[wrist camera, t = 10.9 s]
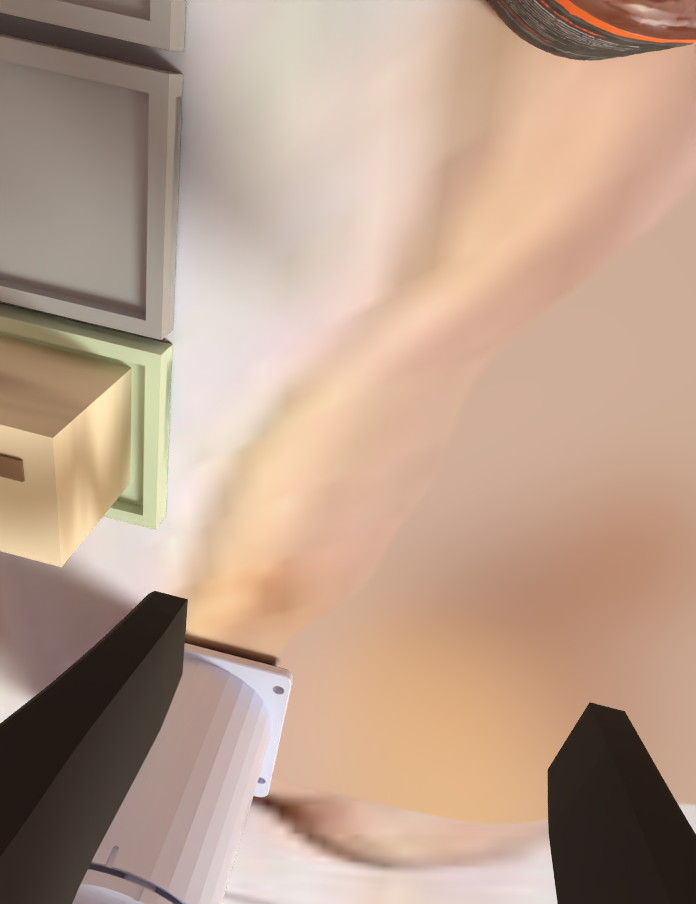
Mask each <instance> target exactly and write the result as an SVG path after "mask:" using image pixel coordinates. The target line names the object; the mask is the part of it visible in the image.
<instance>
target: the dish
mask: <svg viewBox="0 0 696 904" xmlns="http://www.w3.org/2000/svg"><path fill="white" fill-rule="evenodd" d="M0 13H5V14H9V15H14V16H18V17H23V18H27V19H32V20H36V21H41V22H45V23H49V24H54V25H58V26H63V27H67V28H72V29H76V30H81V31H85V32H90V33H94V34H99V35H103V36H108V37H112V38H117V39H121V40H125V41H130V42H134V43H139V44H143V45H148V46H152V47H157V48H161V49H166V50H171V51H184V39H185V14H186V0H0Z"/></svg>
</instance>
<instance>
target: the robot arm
mask: <svg viewBox="0 0 696 904" xmlns="http://www.w3.org/2000/svg"><path fill="white" fill-rule="evenodd" d="M187 602H188V599H184V598H180V597H176V596H172V595H169V594H165V593H161V592H157V591H154V592H152V593H150V594H148V595H147V596H146V597H145V598H144V599H143V600H142V601H141V602H140V603H139V604H138V605H137V606H136V607H135V608H134V609H133V610H132V611H131V612H130V613H129V614H128V615H127V616H126V617H125V618H124V619H123V620H122V621H121V622H120V623H119V624H117V625H116V626H115V627H114V628H113V629H112V630H111V631H110V632H109V633H108V634H107V635H106V636H105V637H103V638H102V639H101V640H100V641H99V642H98V643H97V644H96V645H95V646H94V647H93V648H91V649H90V650H89V651H88V652H87V653H86V654H85V655H83V656H82V657H81V658H80V659H79V660H78V661H76V662H75V663H74V664H73V665H72V666H71V667H70V668H68V669H67V670H66V671H65V672H64V673H63V674H61V675H60V676H59V677H58V678H57V679H56V680H54V681H53V682H52V683H51V684H50V685H48V686H47V687H46V688H45V689H44V690H42V691H41V692H40V693H38V694H37V695H36V696H35V697H33V698H32V699H31V700H30V701H28V702H27V703H26V704H25V705H23V706H22V707H21V708H19V709H18V710H17V711H16V712H14V713H13V714H12V715H11V716H9V717H8V718H7V719H5V720H4V721H3V722H2V723H0V904H222V902H223V898H224V895H225V892H226V888H227V885H228V881H229V878H230V875H231V871H232V868H233V864H234V861H235V857H236V854H237V851H238V847H239V844H240V840H241V837H242V833H243V830H244V827H245V823H246V820H247V816H248V813H249V809H250V806H251V803H252V799H253V796H257V797H264V796H266V795H267V794H268V792H269V788H270V784H271V779H272V774H273V770H274V765H275V761H276V756H277V751H278V747H279V742H280V737H281V732H282V728H283V723H284V719H285V714H286V709H287V705H288V700H289V695H290V691H291V686H292V681H293V676H292V674H291V673H290V672H289V671H288V670H286V669H283V668H280V667H276V666H272V665H268V664H264V663H261V662H257V661H253V660H249V659H245V658H241V657H237V656H233V655H230V654H226V653H222V652H218V651H214V650H210V649H206V648H203V647H199V646H195V645H191V644H187V643H185V631H186V617H187ZM548 824H549V839H550V847H551V855H552V863H553V871H554V879H555V887H556V894H557V901H558V904H696V834H695V832H694V831H693V829H692V827H691V826H690V824H689V822H688V821H687V819H686V817H685V816H684V814H683V812H682V811H681V809H680V807H679V805H678V804H677V802H676V800H675V799H674V797H673V795H672V793H671V792H670V790H669V788H668V787H667V785H666V783H665V781H664V779H663V778H662V776H661V774H660V772H659V771H658V769H657V767H656V766H655V764H654V762H653V760H652V758H651V757H650V755H649V753H648V751H647V750H646V748H645V746H644V744H643V742H642V741H641V739H640V737H639V735H638V734H637V732H636V730H635V729H634V727H633V725H632V723H631V722H630V720H629V718H628V716H627V715H626V713H625V711H621V710H617V709H613V708H609V707H605V706H601V705H597V704H594V703H589V705H588V706H587V708H586V709H585V711H584V712H583V714H582V716H581V717H580V719H579V720H578V722H577V724H576V725H575V727H574V728H573V730H572V732H571V733H570V735H569V736H568V738H567V740H566V741H565V743H564V744H563V746H562V748H561V749H560V751H559V752H558V754H557V756H556V757H555V759H554V761H553V762H552V764H551V765H550V767H549V769H548Z"/></svg>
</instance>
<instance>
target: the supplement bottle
mask: <svg viewBox="0 0 696 904" xmlns="http://www.w3.org/2000/svg"><path fill="white" fill-rule="evenodd" d="M488 1H489V3H490V4H491V6H492V7H493V9H494V10H495V11H496V13H497V14H498V16H499V17H500V18H501V19H502V20H503V21H504V23H505V24H506V25H507V26H508V27H509V28H510V29H511V30H512V31H513V32H514V33H515V34H517V35H518V36H519V37H520V38H521V39H523V40H525V41H526V42H528V43H530V44H531V45H533V46H535V47H537V48H539V49H541V50H543V51H546V52H548V53H551V54H553V55H556V56H561V57H566V58H569V59H575V60H603V59H610V58H617V57H624V56H629V55H633V54H641V53H645V52H651V51H660V50H664V49H670V48H674V47H681V46H686V45H690V44H695V43H696V0H488Z"/></svg>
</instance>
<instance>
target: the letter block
mask: <svg viewBox="0 0 696 904" xmlns="http://www.w3.org/2000/svg"><path fill="white" fill-rule="evenodd" d="M131 393H132V368H130V367H126V366H122V365H118V364H114V363H110V362H106V361H102V360H98V359H94V358H90V357H86V356H82V355H78V354H74V353H70V352H66V351H62V350H58V349H54V348H50V347H46V346H42V345H38V344H34V343H30V342H27V341H23V340H19V339H15V338H11V337H7V336H3V335H0V551H1V552H5V553H9V554H13V555H17V556H20V557H24V558H28V559H32V560H36V561H39V562H43V563H47V564H51V565H55V566H59V567H62V566H63V565H64V563H65V562H66V561H67V560H68V559H69V557H70V556H71V555H72V554H73V552H74V551H75V550H76V549H77V548H78V546H79V545H80V544H81V543H82V541H83V540H84V539H85V538H86V536H87V535H88V534H89V533H90V532H91V530H92V529H93V528H94V527H95V525H96V524H97V523H98V522H99V521H100V519H101V518H102V517H103V516H104V514H105V513H106V512H107V511H108V510H109V508H110V507H111V506H112V505H113V503H114V502H115V501H116V500H117V498H118V497H119V496H120V495H121V494H122V492H123V491H124V490H125V489H126V487H127V486H128V485H129V484H130V479H131Z"/></svg>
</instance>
